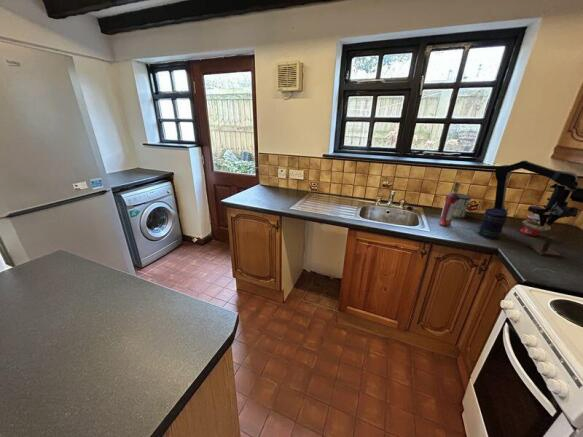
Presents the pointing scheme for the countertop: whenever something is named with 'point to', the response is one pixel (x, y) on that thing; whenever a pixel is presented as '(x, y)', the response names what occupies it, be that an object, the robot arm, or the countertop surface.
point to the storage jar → (493, 223)
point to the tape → (533, 223)
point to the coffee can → (462, 205)
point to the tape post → (545, 249)
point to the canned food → (527, 230)
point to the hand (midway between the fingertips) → (544, 226)
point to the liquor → (450, 206)
